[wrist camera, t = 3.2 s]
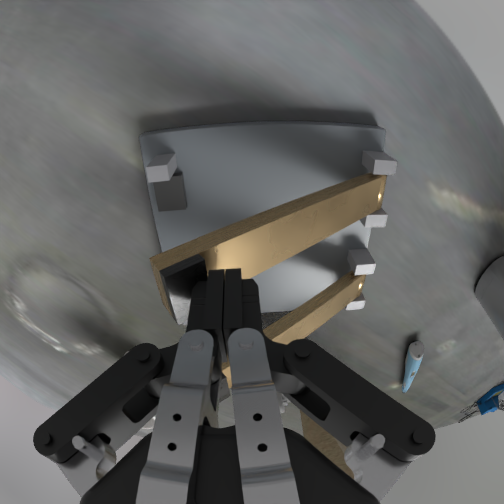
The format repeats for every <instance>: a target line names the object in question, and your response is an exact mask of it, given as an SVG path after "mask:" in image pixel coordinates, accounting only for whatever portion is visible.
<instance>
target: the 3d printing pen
mask: <svg viewBox="0 0 504 504" xmlns="http://www.w3.org/2000/svg"><path fill="white" fill-rule="evenodd" d="M423 353H424V345H423V343H422V342H421V341H416V342H413V343H411V344H410V346H409V348H408V352H407V356H406V360H405V376H404V380H403V385H402V392H403V393H405V392H406V391H407V390H408V389H409V387H410V385H411V384H412V380H413V378H414V376H415V375H416V372H417V370H418V368H419V366H420V363H421V360H422V357H423Z"/></svg>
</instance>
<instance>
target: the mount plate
mask: <svg viewBox="0 0 504 504" xmlns="http://www.w3.org/2000/svg"><path fill="white" fill-rule="evenodd" d="M385 135H386V130H385V129H383V128H381V127H379V126H373V125H362V124H350V123H334V122H309V121H263V122H238V123H221V124H209V125H198V126H188V127H179V128H171V129H164V130H156V131H150V132H144V133H143V134H142V135H140V136H139V139H140V145H141V152H142V158H143V164H144V169H145V175H146V180H147V185H148V191H149V196H150V201H151V205H152V210H153V215H154V219H155V224H156V228H157V233H158V237H159V241H160V246H161V250H162V252H165V251H167V250H169V249H172V248H174V247H177V246H179V245H181V244H184V243H186V242H189V241H191V240H193V239H196V238H198V237H201V236H203V235H206V234H208V233H211V232H213V231H215V230H218V229H220V228H223V227H225V226H228V225H230V224H233V223H235V222H238V221H240V220H243V219H246V218H248V217H251V216H253V215H256V214H258V213H261V212H263V211H266V210H269V209H271V208H274V207H277V206H279V205H282V204H284V203H287V202H290V201H292V200H295V199H298V198H300V197H303V196H306V195H308V194H311V193H314V192H317V191H319V190H322V189H325V188H327V187H330V186H333V185H336V184H339V183H341V182H344V181H347V180H350V179H353V178H355V177H358V176H361V175H364V174H367V173H370V172H371V173H372V174H379V175H395V172H396V165H397V161H396V160H395V159H393V158H392V157H390V156H389V155H387V154H386V153H384V144H385ZM386 220H387V214H386V212H385V211H384V210H383V209H382V208H381V209H380V210H376V211H375V212H373V213H371V214H369V215H367V216H366V217H364V218H362V219H360V220H358V221H356V222H355V223H353V224H351V225H349V226H347V227H346V228H344V229H342V230H340V231H338V232H336V233H335V234H333V235H331V236H329V237H327V238H325V239H324V240H322V241H320V242H318V243H316V244H314V245H312V246H311V247H309V248H307V249H305V250H303V251H301V252H299V253H297V254H296V255H294V256H292V257H290V258H288V259H286V260H284V261H282V262H281V263H279V264H277V265H275V266H273V267H271V268H269V269H267V270H265V271H263V272H262V273H260V274H258V275H256V276H254V277H252V278H250V279H254V281H255V282H256V283H257V285H258V288H259V299H260V309H261V313H266V312H281V311H293V310H295V309H296V308H298V307H299V306H301V305H302V304H304V303H305V302H307V301H308V300H310V299H311V298H313V297H314V296H316V295H317V294H319V293H320V292H321V291H323V290H324V289H326V288H327V287H329V286H330V285H332V284H333V283H334V282H336V281H337V280H339V279H340V278H342V277H343V276H344V275H346V274H347V273H349V272H350V271H351V270H352V271H353V273H354V275H364V274H373V273H374V269H375V266H376V263H375V261H374V260H373V258H372V256H371V255H370V253H369V251H368V250H367V246H368V242H369V237H370V232H371V227H385V224H386ZM364 304H365V298H364V296H363V294H362V292H361V295H360V296H359V297H356V298H355V299H354V300H353V301H352V302H351V303H349V304H348V305H347V306H346V307H345V310H354V309H362V308H363V307H364ZM187 322H188V320H187V321H185V322H183V325H187Z"/></svg>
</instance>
